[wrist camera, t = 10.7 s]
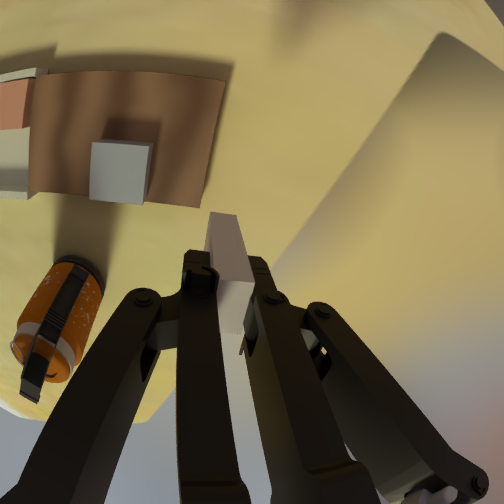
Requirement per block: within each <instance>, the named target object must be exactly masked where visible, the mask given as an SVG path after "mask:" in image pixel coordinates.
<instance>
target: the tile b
mask: <svg viewBox="0 0 504 504" xmlns="http://www.w3.org/2000/svg"><path fill="white" fill-rule="evenodd" d="M152 150H153V143H148V142H137V141H124V140H109V139H99V140H97V141H94V142H92V150H91V163H90V185H89V200H99V201H109V202H118V203H128V204H137V205H143V203H144V202H145V200H146V198H147V191H148V182H149V173H150V165H151V157H152Z"/></svg>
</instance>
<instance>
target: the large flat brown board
mask: <svg viewBox="0 0 504 504" xmlns="http://www.w3.org/2000/svg"><path fill="white" fill-rule="evenodd" d="M225 83H226V81H220V80H214V79H208V78H201V77H194V76H187V75H178V74H168V73H156V72H140V71H83V72H68V73H57V74H48V75H40V76H37V78H36V84H35V90H34V96H33V103H32V112H31V121H30V134H29V161H28V172H29V191H38V192H52V193H65V194H77V195H88V196H89V185H90V163H91V150H92V142H94V141H97V140H99V139H109V140H124V141H137V142H148V143H153V150H152V157H151V165H150V173H149V182H148V191H147V198H146V200H145V201H146V202H154V203H163V204H171V205H179V206H187V207H194V208H200V204H201V198H202V192H203V187H204V181H205V176H206V170H207V165H208V160H209V155H210V150H211V145H212V140H213V135H214V131H215V126H216V121H217V117H218V112H219V108H220V104H221V99H222V95H223V91H224V87H225Z"/></svg>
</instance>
